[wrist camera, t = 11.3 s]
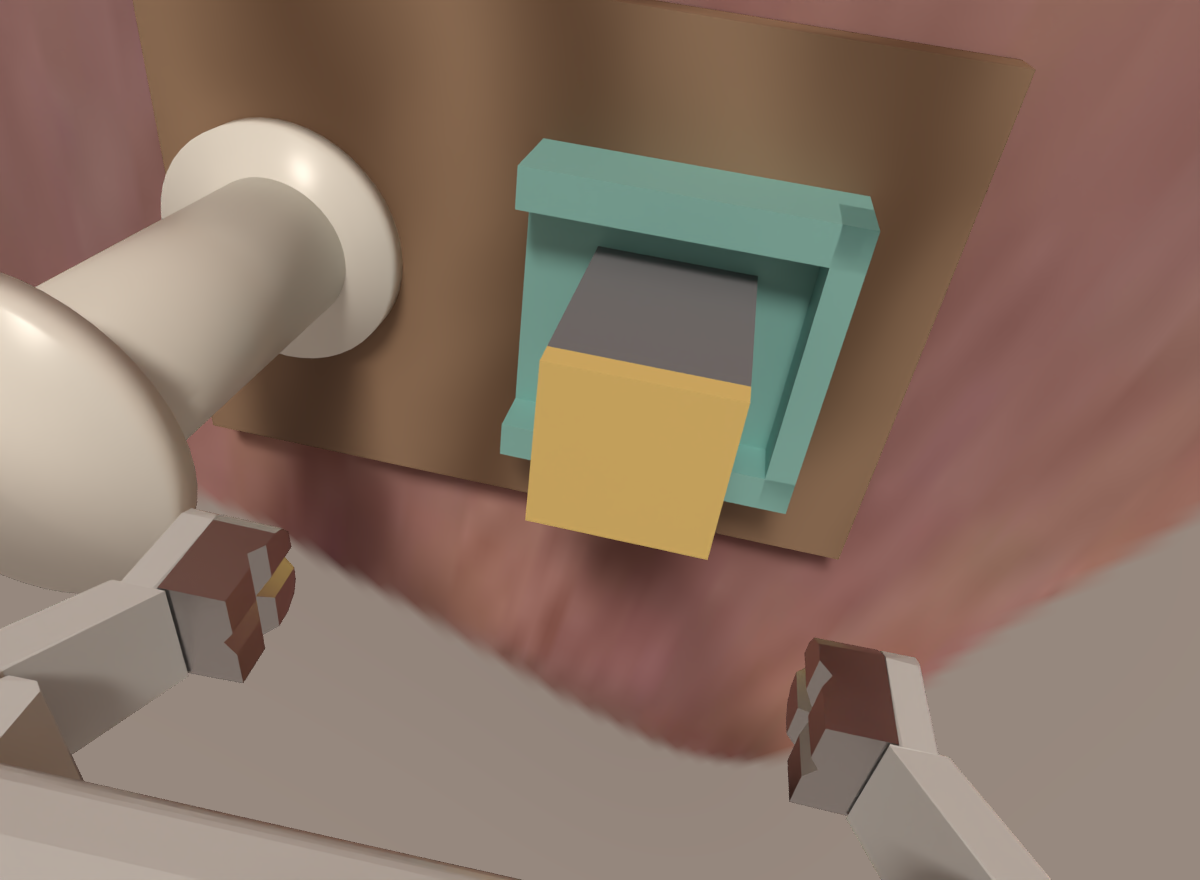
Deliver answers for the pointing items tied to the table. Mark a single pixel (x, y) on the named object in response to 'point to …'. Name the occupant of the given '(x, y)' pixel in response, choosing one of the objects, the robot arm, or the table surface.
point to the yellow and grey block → (643, 402)
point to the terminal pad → (714, 239)
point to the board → (602, 120)
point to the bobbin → (176, 340)
